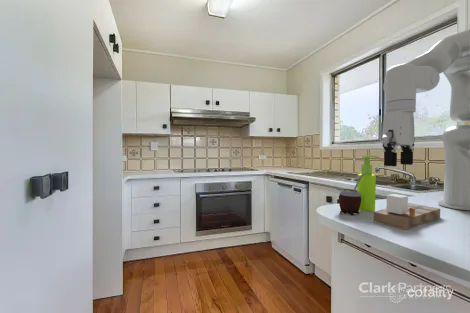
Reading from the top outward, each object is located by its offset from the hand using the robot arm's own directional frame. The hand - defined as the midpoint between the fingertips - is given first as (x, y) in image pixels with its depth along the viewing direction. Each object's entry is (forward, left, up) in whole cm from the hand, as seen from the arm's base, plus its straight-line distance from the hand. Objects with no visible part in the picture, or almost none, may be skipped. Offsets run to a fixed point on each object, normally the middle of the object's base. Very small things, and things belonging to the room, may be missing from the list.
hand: (398, 165), depth 72 cm
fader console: (-7, 0, -18) cm, 19 cm away
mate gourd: (+2, -14, -18) cm, 22 cm away
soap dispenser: (-7, -13, -18) cm, 23 cm away
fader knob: (0, 0, -14) cm, 14 cm away
